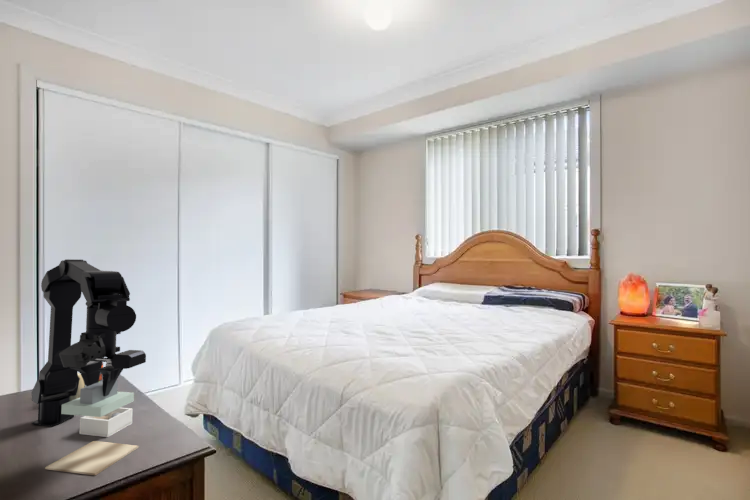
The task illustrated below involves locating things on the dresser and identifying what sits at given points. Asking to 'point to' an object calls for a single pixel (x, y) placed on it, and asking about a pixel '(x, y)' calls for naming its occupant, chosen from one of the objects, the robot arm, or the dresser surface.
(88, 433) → the storage box
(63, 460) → the cork mat
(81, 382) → the ghost figurine
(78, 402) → the lid
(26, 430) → the dresser surface
